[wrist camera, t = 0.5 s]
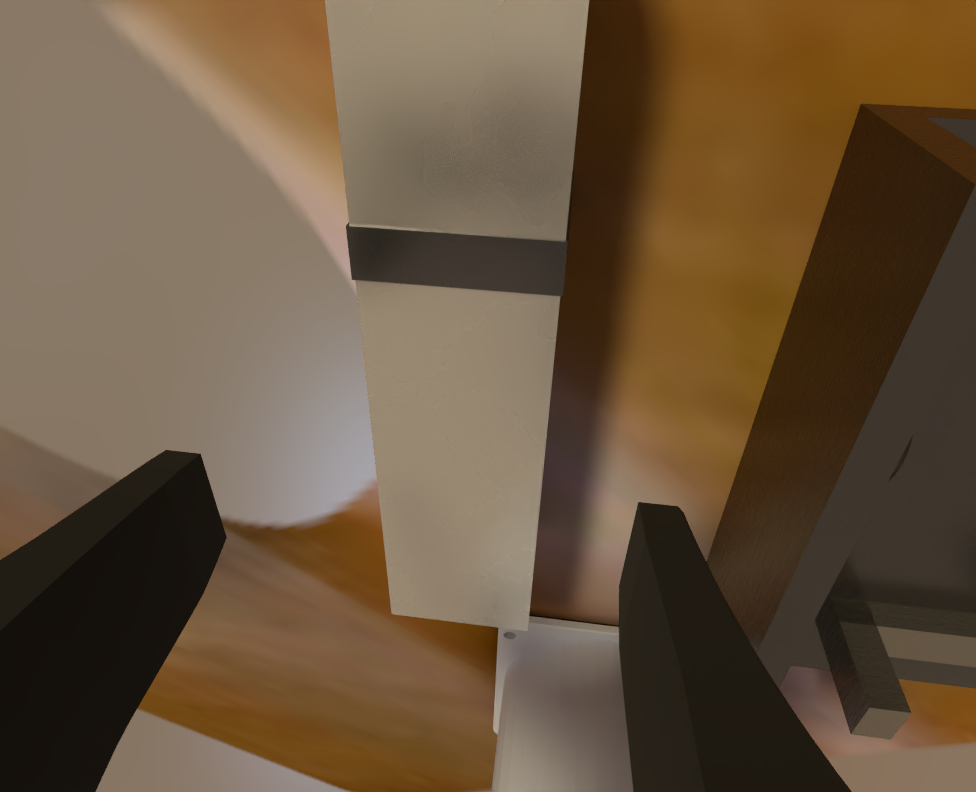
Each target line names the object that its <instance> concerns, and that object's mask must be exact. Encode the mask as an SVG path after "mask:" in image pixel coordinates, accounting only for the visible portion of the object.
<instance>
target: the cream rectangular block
mask: <svg viewBox="0 0 976 792" xmlns="http://www.w3.org/2000/svg"><path fill="white" fill-rule="evenodd" d="M325 5H326V14H327V23H328V33H329V42H330V51H331V60H332V69H333V78H334V88H335V97H336V106H337V115H338V124H339V134H340V143H341V152H342V161H343V170H344V180H345V189H346V198H347V207H348V216H349V223H348V224H347V225H346V230H347V239H348V248H349V257H350V266H351V275H352V280H355V281H356V290H357V299H358V308H359V317H360V327H361V334H362V335H361V336H362V345H363V354H364V363H365V372H366V380H367V381H366V382H367V391H368V399H369V409H370V418H371V427H372V437H373V446H374V455H375V464H376V474H377V483H378V492H379V501H380V510H381V519H382V529H383V538H384V547H385V556H386V565H387V575H388V584H389V593H390V602H391V611H392V614H396V615H404V616H412V617H420V618H428V619H435V620H443V621H451V622H459V623H467V624H475V625H483V626H491V627H499V628H506V629H514V630H522V631H528V622H529V612H530V602H531V591H532V581H533V571H534V561H535V550H536V540H537V530H538V520H539V509H540V499H541V489H542V479H543V468H544V458H545V448H546V438H547V427H548V417H549V407H550V397H551V386H552V376H553V366H554V356H555V345H556V335H557V325H558V315H559V304H560V296H563V289H564V279H565V269H566V259H567V249H568V238H569V225H570V212H571V199H572V186H573V173H574V171H573V161H574V151H575V140H576V130H577V120H578V110H579V99H580V89H581V79H582V69H583V58H584V48H585V38H586V28H587V17H588V7H589V0H325Z"/></svg>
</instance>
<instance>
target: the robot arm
mask: <svg viewBox="0 0 976 792" xmlns="http://www.w3.org/2000/svg"><path fill="white" fill-rule="evenodd" d="M225 540H226V534H225V531H224V528H223V525H222V521H221V518H220V515H219V512H218V509H217V505H216V502H215V499H214V496H213V492H212V489H211V486H210V483H209V480H208V477H207V473H206V470H205V467H204V464H203V460H202V457H201V454H197V453H188V452H178V451H170V450H165V451H164V452H162V453H161V454H159V455H157V456H156V457H154V458H153V459H151V460H150V461H148V462H147V463H145V464H144V465H142V466H141V467H139V468H138V469H136V470H135V471H133V472H132V473H130V474H129V475H127V476H126V477H124V478H123V479H121V480H120V481H119V482H117V483H116V484H114V485H113V486H111V487H110V488H108V489H107V490H105V491H104V492H103V493H101V494H100V495H98V496H97V497H95V498H94V499H92V500H91V501H90V502H88V503H87V504H85V505H84V506H82V507H81V508H79V509H78V510H76V511H75V512H73V513H72V514H70V515H69V516H67V517H66V518H64V519H63V520H61V521H60V522H58V523H57V524H56V525H54V526H53V527H51V528H50V529H48V530H47V531H45V532H44V533H42V534H41V535H39V536H38V537H36V538H35V539H33V540H32V541H30V542H28V543H27V544H25V545H24V546H22V547H20V548H19V549H17V550H16V551H14V552H12V553H11V554H9V555H8V556H6V557H5V558H3V559H1V560H0V792H95V791H96V789H97V787H98V785H99V783H100V781H101V778H102V776H103V774H104V772H105V769H106V768H107V765H108V763H109V761H110V759H111V757H112V755H113V752H114V750H115V748H116V746H117V744H118V742H119V740H120V739H121V737H122V735H123V733H124V731H125V729H126V727H127V725H128V724H129V722H130V720H131V718H132V716H133V715H134V713H135V711H136V709H137V708H138V706H139V704H140V703H141V701H142V699H143V697H144V696H145V694H146V692H147V691H148V689H149V687H150V685H151V684H152V682H153V680H154V678H155V677H156V675H157V673H158V672H159V670H160V668H161V666H162V665H163V663H164V661H165V660H166V658H167V656H168V654H169V653H170V651H171V649H172V648H173V646H174V644H175V642H176V641H177V639H178V637H179V636H180V634H181V632H182V630H183V629H184V627H185V625H186V623H187V622H188V620H189V618H190V616H191V615H192V613H193V611H194V609H195V608H196V606H197V604H198V602H199V600H200V598H201V597H202V595H203V593H204V591H205V588H206V586H207V584H208V582H209V579H210V577H211V575H212V572H213V570H214V568H215V565H216V563H217V560H218V558H219V555H220V553H221V550H222V548H223V545H224V543H225ZM493 730H494V732H495V733H496V734H498V738H497V747H496V756H495V765H494V773H493V782H492V791H491V792H851V790H850V789H849V788H848V786H847V785H846V784H845V782H844V781H843V780H842V778H841V777H840V776H839V775H838V773H837V772H836V771H835V769H834V768H833V766H832V765H831V764H830V762H829V761H828V760H827V758H826V757H825V755H824V754H823V753H822V751H821V750H820V748H819V747H818V746H817V744H816V743H815V742H814V740H813V739H812V737H811V736H810V735H809V733H808V732H807V730H806V729H805V727H804V726H803V724H802V723H801V722H800V720H799V719H798V717H797V716H796V714H795V713H794V711H793V710H792V708H791V707H790V705H789V704H788V702H787V701H786V699H785V698H784V696H783V695H782V693H781V692H780V690H779V688H778V687H777V685H776V684H775V682H774V681H773V679H772V677H771V676H770V674H769V673H768V671H767V670H766V668H765V666H764V665H763V663H762V662H761V660H760V658H759V657H758V655H757V653H756V652H755V650H754V648H753V647H752V645H751V643H750V642H749V640H748V638H747V636H746V635H745V633H744V631H743V629H742V628H741V626H740V624H739V622H738V621H737V619H736V617H735V615H734V614H733V612H732V610H731V608H730V607H729V605H728V603H727V601H726V599H725V597H724V596H723V594H722V592H721V590H720V588H719V586H718V584H717V582H716V580H715V579H714V577H713V575H712V573H711V571H710V569H709V567H708V565H707V563H706V561H705V559H704V557H703V555H702V553H701V550H700V548H699V546H698V544H697V542H696V540H695V538H694V536H693V533H692V531H691V529H690V527H689V524H688V522H687V520H686V517H685V515H684V513H683V512H682V510H681V509H680V508H679V507H678V506H669V505H660V504H651V503H642V502H638V506H637V511H636V515H635V519H634V524H633V528H632V532H631V537H630V541H629V545H628V550H627V554H626V558H625V563H624V567H623V572H622V576H621V580H620V585H619V627H615V626H607V625H599V624H591V623H583V622H575V621H566V620H558V619H550V618H542V617H534V616H529V622H528V631H522V630H514V629H506V628H499V627H498V645H497V664H496V683H495V702H494V721H493Z"/></svg>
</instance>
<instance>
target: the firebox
mask: <svg viewBox="0 0 976 792" xmlns="http://www.w3.org/2000/svg"><path fill="white" fill-rule="evenodd" d="M706 563H707V565H708V567H709V569H710V571H711V573H712V575H713V577H714V579H715V580H716V582H717V584H718V586H719V588H720V590H721V592H722V594H723V596H724V597H725V599H726V601H727V603H728V605H729V607H730V608H731V610H732V612H733V614H734V615H735V617H736V619H737V621H738V622H739V624H740V626H741V628H742V629H743V631H744V633H745V635H746V636H747V638H748V640H749V642H750V643H751V645H752V647H753V648H754V650H755V652H756V653H757V655H758V657H759V658H760V660H761V662H762V663H763V665H764V666H765V668H766V670H767V671H768V673H769V674H770V676H771V677H772V679H773V681H774V682H775V684H776V685H777V687H778V688H779V686H780V684H781V682H782V680H783V679H784V677H785V675H786V673H787V671H788V669H789V667H790V665H793V666H801V667H809V668H817V669H825V670H831V673H832V676H833V679H834V682H835V685H836V689H837V692H838V695H839V698H840V701H841V704H842V708H843V711H844V714H845V717H846V720H847V723H848V727H849V730H850V733H851V734H854V735H861V736H869V737H876V738H884V739H891V738H892V737H893V736H894V735H895V733H896V732H897V731H898V730H899V728H900V727H901V726H902V724H903V723H904V722H905V721H906V719H907V718H908V717H909V716H910V714H911V711H910V708H909V706H908V703H907V701H906V698H905V696H904V693H903V691H902V688H901V686H900V683H899V681H898V679H905V680H913V681H921V682H929V683H937V684H944V685H952V686H960V687H968V688H976V110H971V109H952V108H932V107H912V106H892V105H873V104H861V106H860V109H859V112H858V115H857V118H856V120H855V123H854V126H853V129H852V132H851V135H850V138H849V141H848V144H847V147H846V150H845V153H844V156H843V159H842V162H841V165H840V168H839V171H838V174H837V177H836V180H835V183H834V186H833V189H832V192H831V195H830V198H829V201H828V203H827V206H826V209H825V212H824V215H823V218H822V221H821V224H820V227H819V230H818V233H817V236H816V239H815V242H814V245H813V248H812V251H811V254H810V257H809V260H808V263H807V266H806V269H805V272H804V275H803V278H802V281H801V284H800V286H799V289H798V292H797V295H796V298H795V301H794V304H793V307H792V310H791V313H790V316H789V319H788V322H787V325H786V328H785V331H784V334H783V337H782V340H781V343H780V346H779V349H778V352H777V355H776V358H775V361H774V364H773V367H772V370H771V372H770V375H769V378H768V381H767V384H766V387H765V390H764V393H763V396H762V399H761V402H760V405H759V408H758V411H757V414H756V417H755V420H754V423H753V426H752V429H751V432H750V435H749V438H748V441H747V444H746V447H745V450H744V453H743V455H742V458H741V461H740V464H739V467H738V470H737V473H736V476H735V479H734V482H733V485H732V488H731V491H730V494H729V497H728V500H727V503H726V506H725V509H724V512H723V515H722V518H721V521H720V524H719V527H718V530H717V533H716V536H715V538H714V541H713V544H712V547H711V550H710V553H709V556H708V559H707V562H706Z"/></svg>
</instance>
